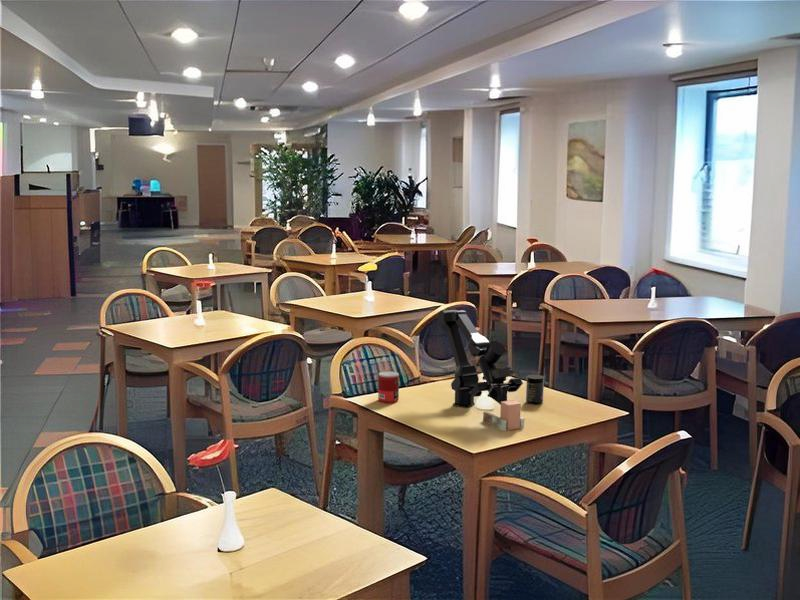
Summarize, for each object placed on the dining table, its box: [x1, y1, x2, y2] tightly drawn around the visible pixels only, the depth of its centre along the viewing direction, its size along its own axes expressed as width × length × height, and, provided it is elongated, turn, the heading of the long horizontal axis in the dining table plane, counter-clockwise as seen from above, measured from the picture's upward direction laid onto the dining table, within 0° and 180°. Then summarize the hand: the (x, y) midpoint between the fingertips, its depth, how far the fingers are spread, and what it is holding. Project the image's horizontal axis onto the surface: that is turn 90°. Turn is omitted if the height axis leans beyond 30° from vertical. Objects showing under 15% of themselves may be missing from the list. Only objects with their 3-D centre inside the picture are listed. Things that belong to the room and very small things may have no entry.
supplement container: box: [525, 374, 545, 406], centre depth 329 cm, size 7×7×10 cm
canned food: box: [377, 370, 400, 404], centre depth 329 cm, size 8×8×11 cm
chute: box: [482, 410, 525, 432], centre depth 301 cm, size 13×9×4 cm
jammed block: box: [499, 399, 521, 431], centre depth 297 cm, size 5×5×9 cm
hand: (506, 407), depth 299 cm, fingers closed, pressing on jammed block
